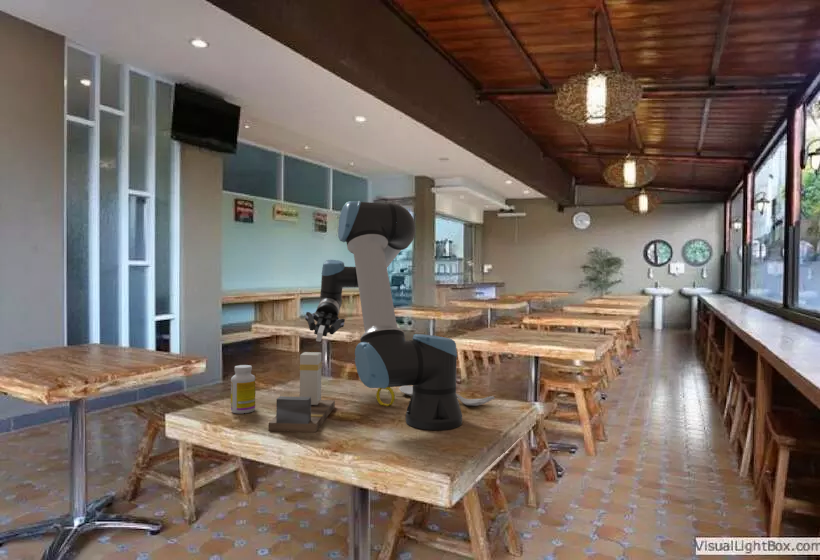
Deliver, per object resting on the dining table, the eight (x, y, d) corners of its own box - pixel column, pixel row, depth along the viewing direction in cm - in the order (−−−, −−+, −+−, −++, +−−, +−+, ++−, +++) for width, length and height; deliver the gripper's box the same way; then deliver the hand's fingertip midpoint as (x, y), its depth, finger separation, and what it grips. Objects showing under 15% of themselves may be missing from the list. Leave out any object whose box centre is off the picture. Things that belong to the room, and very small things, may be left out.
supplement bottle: (260, 410, 149) (260, 365, 149) (241, 415, 144) (241, 369, 143) (244, 407, 153) (244, 363, 152) (225, 412, 147) (225, 366, 147)
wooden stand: (294, 406, 154) (294, 379, 154) (334, 407, 154) (334, 380, 154) (268, 430, 130) (268, 399, 130) (315, 432, 130) (316, 400, 130)
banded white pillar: (303, 399, 152) (304, 352, 151) (321, 400, 151) (321, 352, 151) (299, 404, 146) (299, 354, 146) (317, 404, 146) (317, 355, 146)
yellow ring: (395, 406, 156) (397, 387, 156) (390, 408, 154) (391, 388, 154) (379, 402, 160) (380, 383, 159) (374, 404, 157) (375, 384, 157)
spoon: (480, 412, 150) (481, 401, 150) (393, 396, 169) (393, 385, 169) (495, 406, 157) (495, 395, 157) (410, 391, 176) (410, 381, 176)
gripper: (344, 326, 178) (338, 352, 155) (306, 319, 177) (295, 344, 154) (348, 305, 176) (343, 329, 153) (310, 298, 175) (299, 321, 152)
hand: (319, 337), depth 154 cm, fingers closed
